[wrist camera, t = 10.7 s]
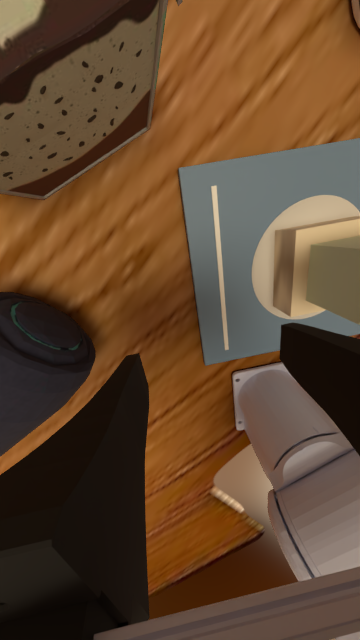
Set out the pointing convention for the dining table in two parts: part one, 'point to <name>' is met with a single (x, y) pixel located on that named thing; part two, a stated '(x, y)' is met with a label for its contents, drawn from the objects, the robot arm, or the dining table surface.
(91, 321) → the dining table surface
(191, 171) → the board
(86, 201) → the dining table surface
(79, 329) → the portable speaker
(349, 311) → the sage block
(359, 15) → the supplement bottle
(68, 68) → the food container
